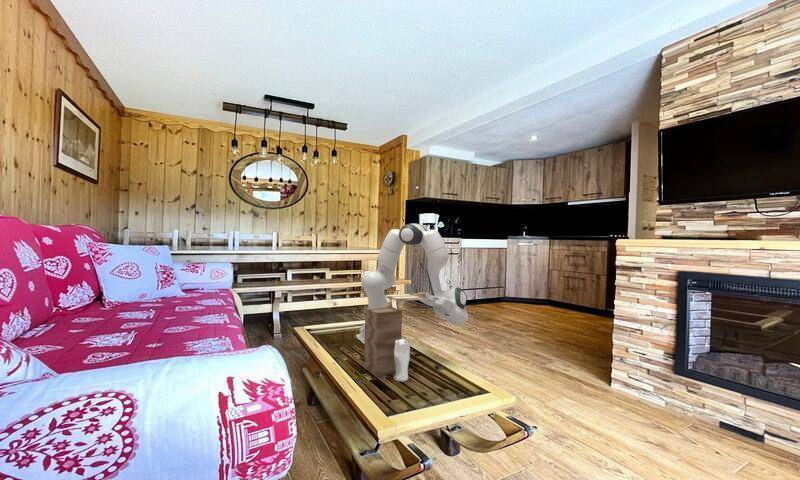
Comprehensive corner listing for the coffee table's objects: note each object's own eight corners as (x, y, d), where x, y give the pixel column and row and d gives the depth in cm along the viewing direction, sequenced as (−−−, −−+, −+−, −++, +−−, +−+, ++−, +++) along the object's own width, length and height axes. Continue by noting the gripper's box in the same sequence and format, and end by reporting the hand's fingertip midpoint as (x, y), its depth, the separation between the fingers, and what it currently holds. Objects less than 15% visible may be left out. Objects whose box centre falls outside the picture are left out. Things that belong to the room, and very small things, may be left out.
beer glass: (409, 375, 141) (411, 339, 141) (408, 382, 134) (409, 344, 134) (393, 374, 142) (394, 338, 142) (391, 381, 135) (392, 343, 135)
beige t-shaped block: (385, 297, 154) (385, 294, 154) (422, 294, 165) (423, 291, 165) (398, 301, 145) (398, 297, 145) (437, 298, 156) (437, 294, 156)
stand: (363, 367, 149) (365, 308, 149) (387, 363, 155) (389, 306, 155) (375, 376, 139) (377, 313, 139) (400, 371, 146) (402, 310, 146)
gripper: (431, 297, 174) (412, 285, 168) (459, 304, 157) (439, 290, 151) (426, 308, 173) (407, 296, 166) (453, 316, 155) (433, 303, 149)
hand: (422, 293), depth 158 cm, fingers closed on beige t-shaped block, 3 cm apart
